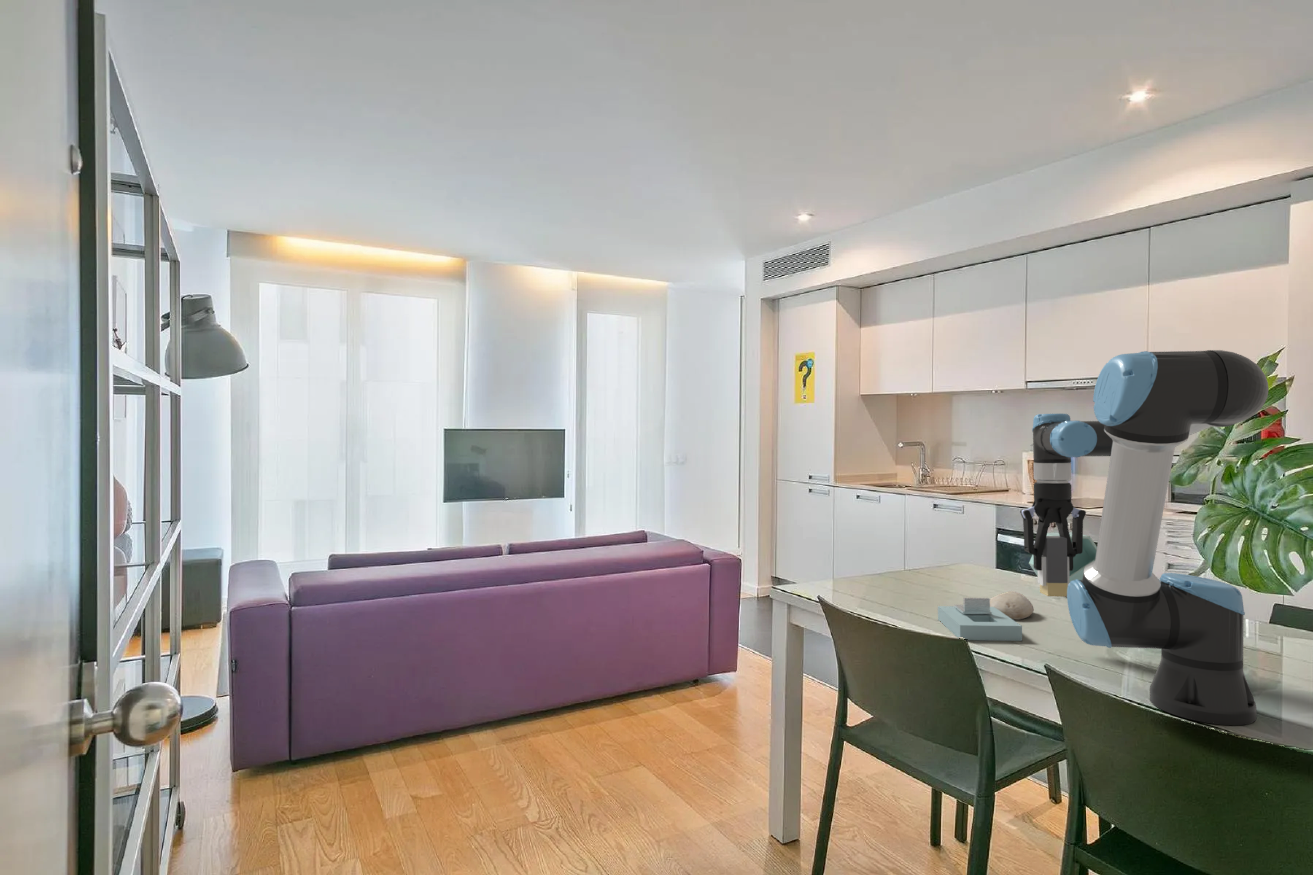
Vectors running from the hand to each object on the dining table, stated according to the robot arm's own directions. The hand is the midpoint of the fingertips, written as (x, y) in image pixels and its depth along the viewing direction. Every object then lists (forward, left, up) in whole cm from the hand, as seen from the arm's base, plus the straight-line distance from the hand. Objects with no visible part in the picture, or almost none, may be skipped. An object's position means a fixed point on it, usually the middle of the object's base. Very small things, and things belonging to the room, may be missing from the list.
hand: (1053, 584), depth 163 cm
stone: (+29, -1, -15) cm, 33 cm away
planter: (+55, -28, -15) cm, 64 cm away
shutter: (+18, +12, -11) cm, 24 cm away
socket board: (+14, +12, -14) cm, 23 cm away
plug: (0, 0, -2) cm, 2 cm away
